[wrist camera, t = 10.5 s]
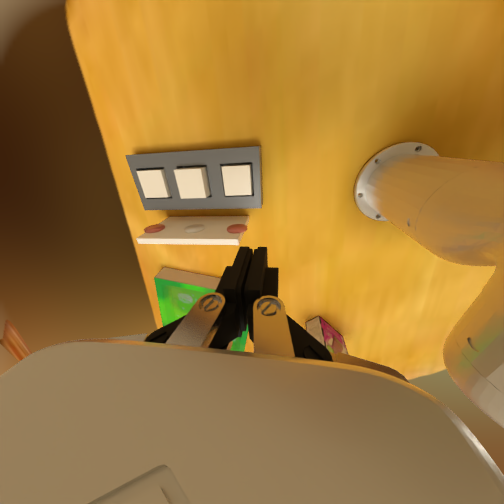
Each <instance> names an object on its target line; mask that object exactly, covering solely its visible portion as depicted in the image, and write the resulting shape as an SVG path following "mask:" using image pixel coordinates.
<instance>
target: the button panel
mask: <svg viewBox="0 0 504 504" xmlns="http://www.w3.org/2000/svg"><path fill="white" fill-rule="evenodd" d="M125 156H126V159H127V161H128V164H129V167H130V170H131V173H132V175H133V178H134V181H135V184H136V187H137V189H138V192H139V195H140V198H141V201H142V203H143V206H144V209H145V210H182V209H241V208H262V205H263V192H262V161H261V146H252V147H238V148H223V149H208V150H194V151H179V152H165V153H150V154H136V155H125ZM250 163H252V168H253V186H254V192H253V193H252V195H233V196H225V190H224V182H223V175H222V166H224V165H232V164H250ZM188 167H207V171H208V177H209V183H210V189H211V195H209V196H208V197H207V198H185V199H181V197H180V193H179V189H178V185H177V181H176V177H175V173H174V170H176V169H179V168H188ZM158 168H164V169H165V173H166V176H167V180H168V184H169V187H170V191H171V195H172V196H170V197H162V198H145V195H144V192H143V189H142V186H141V183H140V180H139V178H138V175H137V172H136V171H140V170H145V169H158ZM248 222H249V216H184V217H168V218H167V219H165V220H164V221H162V222H161V223H159V224H156V225H151V226H149V227H146V228H145V229H144V231H145V233H144V234H142V235H141V236H139V237H138V238H136V239H137V241H138V244H206V245H239V243H240V241H241V238H242V236H243V234H244V232H245V231H246V230H247V224H248Z"/></svg>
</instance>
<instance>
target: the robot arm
mask: <svg viewBox="0 0 504 504" xmlns="http://www.w3.org/2000/svg"><path fill="white" fill-rule="evenodd" d="M415 148H416V150H415ZM376 159H377V161H376V162H375V160H376ZM359 193H360V195H358V194H359ZM354 199H355V202H356V205H357V207H358V208H359V210H360V211H361V212H362V213H363V214H365V215H366V216H367V217H369V218H371V219H374V220H379V221H390V222H391V223H393V224H394V225H395V226H397V227H398V228H399V229H401V230H402V231H403V232H405V233H406V234H407V235H409V236H410V237H411V238H413V239H414V240H415V241H417V242H418V243H419V244H421V245H422V246H423V247H425V248H426V249H428V250H429V251H430V252H432V253H433V254H435V255H436V256H438V257H440V258H442V259H444V260H447V261H449V262H453V263H457V264H462V265H470V266H496V269H495V271H494V274H493V275H492V277H491V278H490V279H489V281H488V282H487V284H486V285H485V286H484V288H483V289H482V292H481V293H480V294H479V296H478V297H477V298H476V299H475V301H474V302H473V303H472V305H471V306H470V307H469V308H468V310H467V311H466V312H465V313H464V315H463V316H462V317H461V319H460V320H459V321H458V322H457V324H456V325H455V327H454V328H453V329H452V331H451V332H450V334H449V336H448V337H447V339H446V341H445V344H444V348H443V359H444V363H445V366H446V368H447V370H448V372H449V374H450V376H451V378H452V379H453V381H454V382H455V383H456V385H457V386H458V387H459V388H460V390H461V391H462V392H463V393H464V394H465V395H466V396H467V397H468V398H469V399H470V400H471V401H472V402H473V403H474V404H475V405H476V406H477V407H478V408H479V409H480V410H482V411H483V412H484V413H485V414H486V415H487V416H489V417H490V418H491V419H493V420H494V421H495V422H496V423H498V424H499V425H500V426H502V427H503V428H504V162H493V161H483V160H472V159H462V158H451V157H440V156H439V154H438V153H437V152H436V151H435V150H434V149H433V148H432V147H430V146H428V145H426V144H423V143H419V142H403V143H399V144H395V145H392V146H390V147H387V148H385V149H384V150H382V151H380V152H379V153H377V154H376V155H375V156H373V157H372V158H371V159H370V160H369V161H368V162H367V163H366V164H365V165H364V167H363V168H362V170H361V171H360V173H359V175H358V177H357V179H356V183H355V186H354ZM377 214H378V215H377ZM376 215H377V216H376ZM247 324H248V331H249V336H250V339H251V340H252V342H253V343H254V353H251V352H242V351H232V350H231V347H232V344H233V342H232V341H233V340H234V339H236V338H237V337H242V332H243V331H245V332H246V329H247ZM0 504H504V475H503V474H502V473H501V471H500V470H499V468H498V467H497V465H496V464H495V462H494V461H493V460H492V458H490V456H489V454H488V453H487V452H486V450H485V449H484V448H483V446H482V445H481V444H480V442H479V441H478V440H477V439H476V437H475V436H474V435H473V434H472V432H471V431H470V430H469V429H468V428H467V426H466V425H465V424H464V423H463V422H462V421H461V420H460V419H459V418H458V416H456V414H454V412H452V411H451V410H450V409H449V408H448V407H447V406H446V405H445V404H443V403H442V402H441V401H439V400H438V399H437V398H435V397H434V396H432V395H430V394H429V393H427V392H425V391H423V390H422V389H420V388H418V387H416V386H414V385H412V384H410V383H409V382H408V381H407V379H406V378H405V377H404V376H403V375H402V374H400V373H399V372H398V371H396V370H394V369H392V368H390V367H387V366H384V365H380V364H377V363H374V362H370V361H367V360H364V359H360V358H357V357H354V356H351V355H347V354H344V353H341V352H337V354H335V353H332V352H329V350H328V349H327V348H326V347H325V346H324V345H323V344H321V343H320V342H319V341H318V340H317V339H315V338H314V337H313V336H312V335H311V334H309V333H308V332H307V331H306V330H305V329H303V328H302V327H301V326H300V325H299V324H297V323H296V322H295V321H294V320H293V319H291V318H290V317H289V316H288V315H287V314H286V311H285V306H284V304H283V302H282V301H281V300H280V299H279V298H278V268H269V267H268V265H267V247H258V249H255V250H254V254H253V250H252V249H250V248H249V247H240V248H239V251H238V253H237V256H236V258H235V261H234V263H233V265H232V266H227V267H226V268H225V271H224V273H223V275H222V277H221V279H220V282H219V284H218V286H217V288H216V290H215V293H208V294H205V295H203V296H201V297H200V298H199V299H198V300H197V301H196V303H195V304H194V305H193V307H192V308H191V309H190V311H189V312H188V313H187V315H185V316H183V317H181V318H179V319H177V320H175V321H173V322H171V323H169V324H167V325H166V326H164V327H162V328H160V329H158V330H156V331H154V332H153V333H151V334H150V335H149V336H148V334H147V333H146V334H138V335H130V336H122V337H115V338H108V339H82V340H75V341H68V342H64V343H60V344H56V345H53V346H49V347H47V348H44V349H41V350H39V351H36V352H34V353H32V354H31V355H29V356H27V357H26V358H24V359H23V360H21V361H20V362H19V363H17V364H16V365H14V366H13V367H12V368H11V369H9V370H8V371H6V372H5V373H4V374H3V375H1V376H0Z"/></svg>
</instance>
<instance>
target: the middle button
mask: <svg viewBox="0 0 504 504" xmlns="http://www.w3.org/2000/svg"><path fill="white" fill-rule="evenodd" d="M174 173H175V177H176V181H177V185H178V189H179V193H180V197H181V199H185V198H207V197H208V196H209V195H211V189H210V183H209V177H208V171H207V167H188V168H179V169H176V170H174Z"/></svg>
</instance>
